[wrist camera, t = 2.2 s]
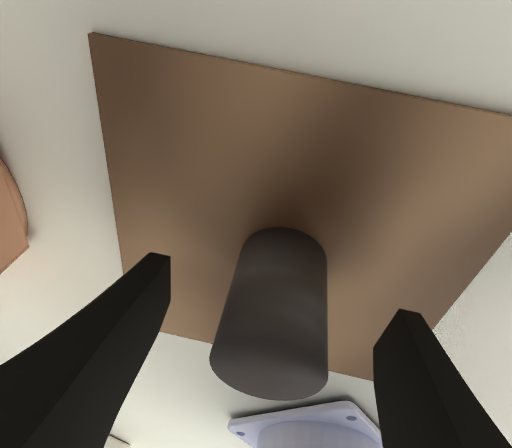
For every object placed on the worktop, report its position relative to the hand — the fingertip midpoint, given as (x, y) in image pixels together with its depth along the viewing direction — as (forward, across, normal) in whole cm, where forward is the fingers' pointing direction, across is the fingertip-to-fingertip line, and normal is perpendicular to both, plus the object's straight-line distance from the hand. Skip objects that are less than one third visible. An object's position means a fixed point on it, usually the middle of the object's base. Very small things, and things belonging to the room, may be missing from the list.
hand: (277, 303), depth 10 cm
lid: (+3, 0, 0) cm, 3 cm away
